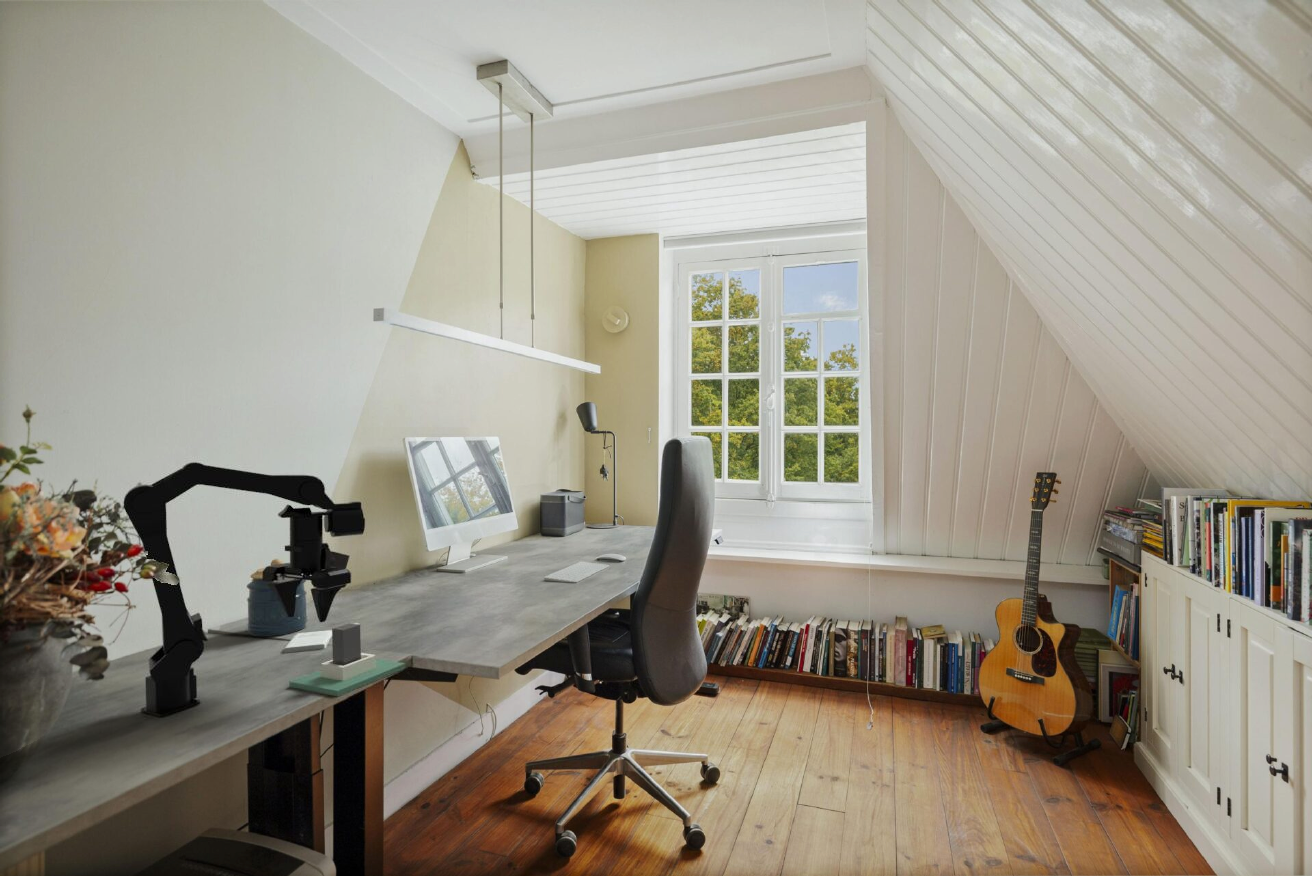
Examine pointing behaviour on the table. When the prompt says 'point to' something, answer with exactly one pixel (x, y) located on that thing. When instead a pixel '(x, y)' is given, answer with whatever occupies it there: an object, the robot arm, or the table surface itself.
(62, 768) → the table surface
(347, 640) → the plug
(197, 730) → the table surface
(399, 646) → the table surface
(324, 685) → the board
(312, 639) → the external hard drive
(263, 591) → the canister
